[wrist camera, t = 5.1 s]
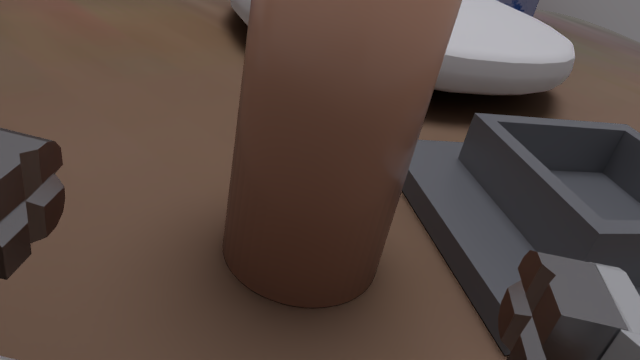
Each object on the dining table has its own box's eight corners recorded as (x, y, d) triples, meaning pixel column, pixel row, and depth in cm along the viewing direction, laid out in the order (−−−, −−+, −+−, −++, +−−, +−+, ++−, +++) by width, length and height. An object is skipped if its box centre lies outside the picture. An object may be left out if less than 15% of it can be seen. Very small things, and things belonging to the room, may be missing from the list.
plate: (181, -61, 46) (412, -37, 60) (179, 17, 49) (401, 23, 63) (384, 5, 25) (661, 18, 40) (361, 132, 28) (627, 102, 42)
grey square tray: (504, 354, 18) (550, 271, 16) (381, 157, 29) (400, 92, 27) (826, 330, 23) (892, 263, 21) (619, 168, 33) (649, 113, 31)
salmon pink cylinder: (230, 311, 17) (300, -207, 10) (217, 204, 22) (258, -199, 15) (397, 304, 19) (559, -142, 12) (351, 206, 24) (447, -154, 17)
